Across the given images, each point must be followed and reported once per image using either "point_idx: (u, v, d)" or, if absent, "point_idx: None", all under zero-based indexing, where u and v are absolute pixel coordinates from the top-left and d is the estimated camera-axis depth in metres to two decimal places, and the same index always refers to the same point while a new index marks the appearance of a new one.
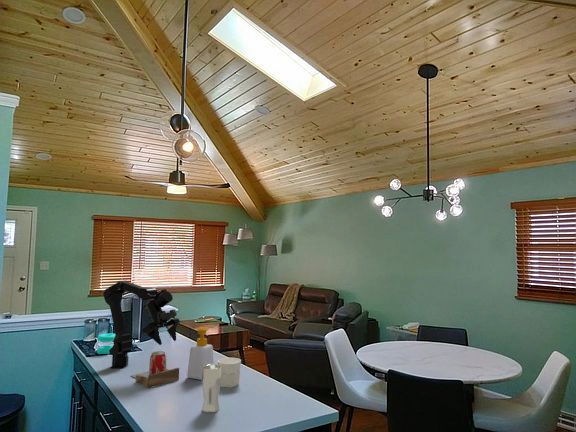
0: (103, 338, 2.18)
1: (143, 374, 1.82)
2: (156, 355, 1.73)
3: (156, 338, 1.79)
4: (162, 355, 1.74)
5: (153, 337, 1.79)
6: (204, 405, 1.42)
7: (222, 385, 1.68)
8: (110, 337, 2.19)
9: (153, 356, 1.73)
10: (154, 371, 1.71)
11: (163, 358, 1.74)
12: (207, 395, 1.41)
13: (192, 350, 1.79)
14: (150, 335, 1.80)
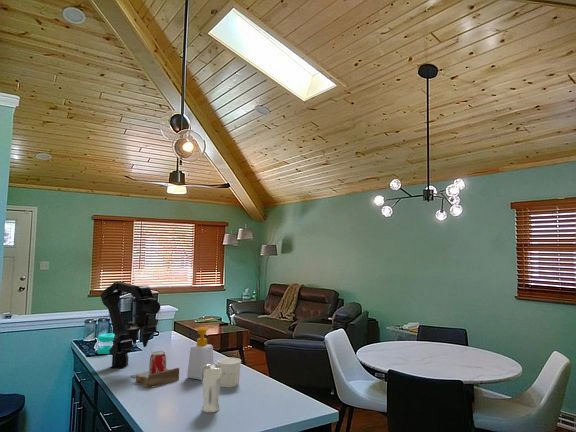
0: (103, 338, 2.18)
1: (143, 374, 1.82)
2: (156, 355, 1.73)
3: (146, 340, 1.86)
4: (162, 355, 1.74)
5: (144, 338, 1.85)
6: (204, 405, 1.42)
7: (222, 385, 1.68)
8: (110, 337, 2.19)
9: (153, 356, 1.73)
10: (154, 371, 1.71)
11: (163, 358, 1.74)
12: (207, 395, 1.41)
13: (192, 350, 1.79)
14: (144, 335, 1.84)
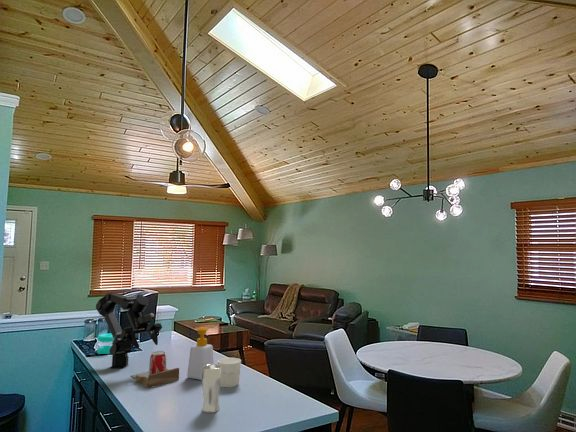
0: (103, 338, 2.18)
1: (143, 374, 1.82)
2: (156, 355, 1.73)
3: (133, 342, 1.78)
4: (162, 355, 1.74)
5: (131, 342, 1.79)
6: (204, 405, 1.42)
7: (222, 385, 1.68)
8: (110, 337, 2.19)
9: (153, 356, 1.73)
10: (154, 371, 1.71)
11: (163, 358, 1.74)
12: (207, 395, 1.41)
13: (192, 350, 1.79)
14: (128, 340, 1.80)
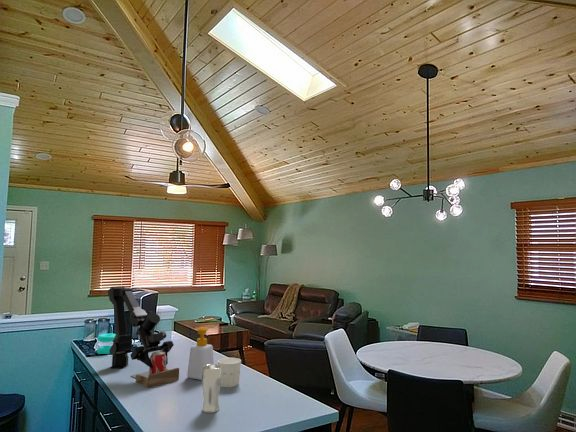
0: (103, 338, 2.18)
1: (143, 374, 1.82)
2: (156, 355, 1.73)
3: (147, 361, 1.72)
4: (162, 355, 1.74)
5: (144, 361, 1.73)
6: (204, 405, 1.42)
7: (222, 385, 1.68)
8: (110, 337, 2.19)
9: (153, 356, 1.73)
10: (154, 371, 1.71)
11: (163, 358, 1.74)
12: (207, 395, 1.41)
13: (192, 350, 1.79)
14: (141, 359, 1.74)
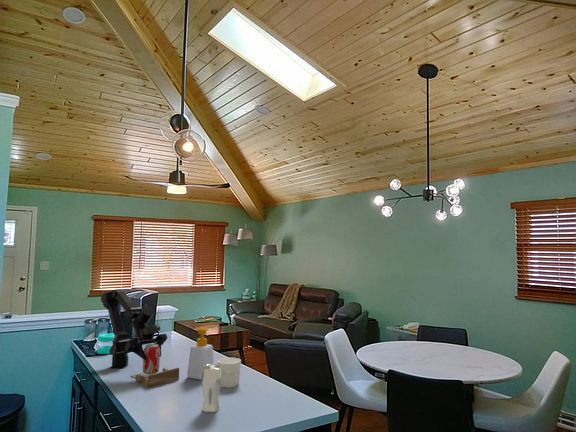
0: (103, 338, 2.18)
1: (143, 374, 1.82)
2: (150, 347, 1.76)
3: (140, 353, 1.76)
4: (156, 347, 1.77)
5: (138, 353, 1.77)
6: (204, 405, 1.42)
7: (222, 385, 1.68)
8: (110, 337, 2.19)
9: (147, 348, 1.76)
10: (148, 363, 1.75)
11: (156, 350, 1.77)
12: (207, 395, 1.41)
13: (192, 350, 1.79)
14: (135, 351, 1.77)
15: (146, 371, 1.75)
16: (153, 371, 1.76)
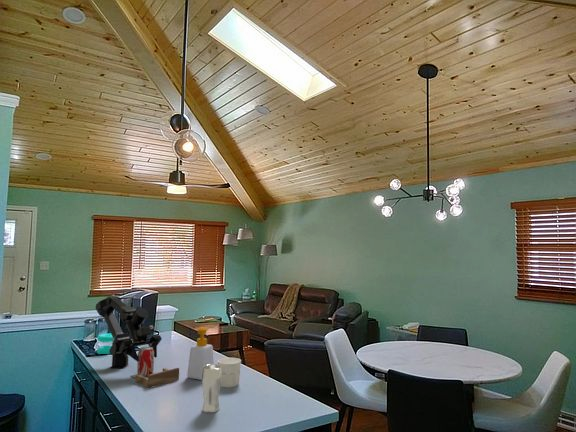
0: (103, 338, 2.18)
1: None
2: (144, 350, 1.79)
3: (133, 355, 1.78)
4: (150, 350, 1.81)
5: (131, 354, 1.79)
6: (204, 405, 1.42)
7: (222, 385, 1.68)
8: (110, 337, 2.19)
9: (141, 351, 1.80)
10: (142, 365, 1.78)
11: (151, 353, 1.80)
12: (207, 395, 1.41)
13: (192, 350, 1.79)
14: (128, 353, 1.79)
15: (140, 373, 1.78)
16: (147, 373, 1.79)
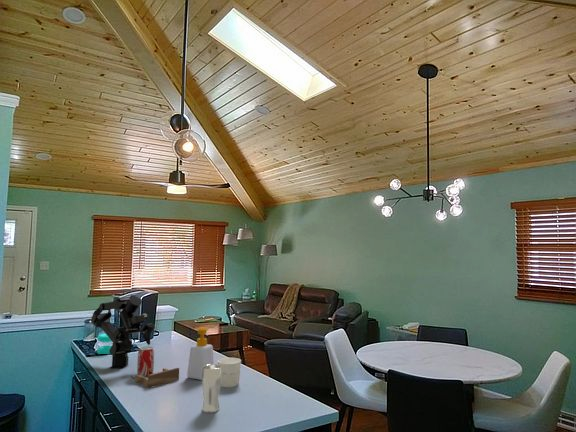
0: (103, 338, 2.18)
1: None
2: (144, 350, 1.79)
3: (126, 342, 1.82)
4: (150, 350, 1.81)
5: (124, 341, 1.83)
6: (204, 405, 1.42)
7: (222, 385, 1.68)
8: None
9: (141, 351, 1.80)
10: (142, 365, 1.78)
11: (151, 353, 1.80)
12: (207, 395, 1.41)
13: (192, 350, 1.79)
14: (121, 340, 1.84)
15: (140, 373, 1.78)
16: (147, 373, 1.79)
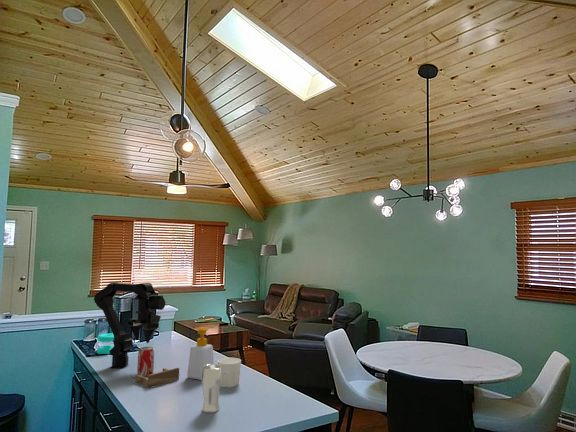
0: (103, 338, 2.18)
1: None
2: (144, 350, 1.79)
3: (149, 336, 1.90)
4: (150, 350, 1.81)
5: (147, 334, 1.89)
6: (204, 405, 1.42)
7: (222, 385, 1.68)
8: (110, 337, 2.19)
9: (141, 351, 1.80)
10: (142, 365, 1.78)
11: (151, 353, 1.80)
12: (207, 395, 1.41)
13: (192, 350, 1.79)
14: (146, 331, 1.88)
15: (140, 373, 1.78)
16: (147, 373, 1.79)
